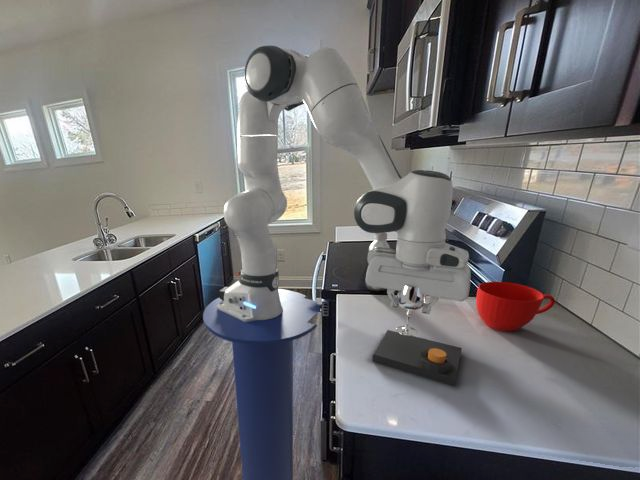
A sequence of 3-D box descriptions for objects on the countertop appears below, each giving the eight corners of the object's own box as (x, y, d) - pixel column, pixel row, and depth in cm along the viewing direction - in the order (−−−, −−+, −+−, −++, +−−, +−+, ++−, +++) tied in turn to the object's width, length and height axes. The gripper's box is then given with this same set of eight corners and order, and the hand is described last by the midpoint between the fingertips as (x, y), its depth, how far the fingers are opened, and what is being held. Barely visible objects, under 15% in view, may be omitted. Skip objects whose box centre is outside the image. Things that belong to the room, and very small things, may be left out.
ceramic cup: (564, 339, 76) (578, 302, 73) (485, 337, 79) (495, 300, 76) (528, 315, 88) (539, 281, 84) (461, 313, 91) (468, 281, 87)
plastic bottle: (383, 295, 106) (389, 236, 99) (362, 291, 110) (367, 234, 103) (388, 288, 111) (394, 232, 103) (368, 285, 115) (373, 230, 107)
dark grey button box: (371, 361, 73) (373, 348, 72) (386, 336, 82) (388, 324, 81) (454, 386, 64) (457, 372, 62) (460, 354, 73) (463, 341, 72)
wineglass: (417, 339, 71) (425, 290, 66) (390, 333, 74) (395, 285, 70) (422, 328, 75) (429, 281, 70) (396, 322, 78) (401, 277, 74)
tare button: (426, 360, 67) (427, 353, 66) (428, 353, 69) (430, 346, 68) (444, 365, 65) (445, 358, 64) (445, 358, 67) (447, 351, 67)
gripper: (364, 249, 71) (359, 304, 76) (476, 261, 59) (461, 326, 64) (372, 242, 76) (367, 295, 81) (477, 252, 64) (464, 314, 69)
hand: (410, 309), depth 72 cm, fingers closed on wineglass, 5 cm apart
